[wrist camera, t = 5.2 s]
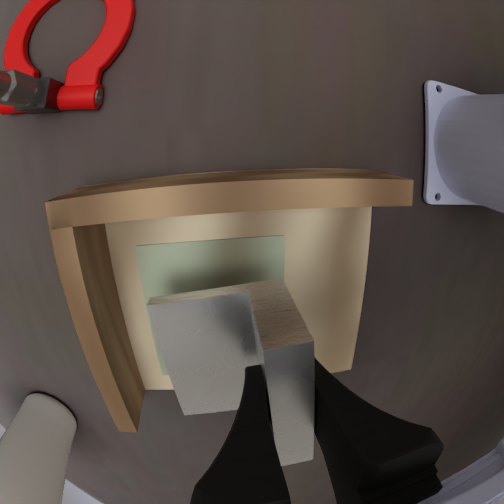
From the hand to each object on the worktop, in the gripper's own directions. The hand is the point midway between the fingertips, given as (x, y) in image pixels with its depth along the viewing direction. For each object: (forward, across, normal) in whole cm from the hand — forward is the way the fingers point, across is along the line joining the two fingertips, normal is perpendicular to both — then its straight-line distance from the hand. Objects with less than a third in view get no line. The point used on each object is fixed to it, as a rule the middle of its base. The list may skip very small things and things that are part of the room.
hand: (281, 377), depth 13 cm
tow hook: (+7, +9, -18) cm, 21 cm away
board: (+6, +1, -1) cm, 7 cm away
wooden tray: (+6, +1, -1) cm, 7 cm away
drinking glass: (+7, +19, +8) cm, 22 cm away
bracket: (+3, +2, 0) cm, 3 cm away
